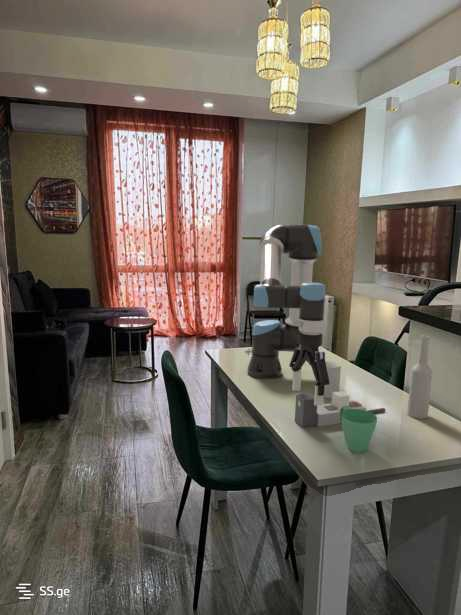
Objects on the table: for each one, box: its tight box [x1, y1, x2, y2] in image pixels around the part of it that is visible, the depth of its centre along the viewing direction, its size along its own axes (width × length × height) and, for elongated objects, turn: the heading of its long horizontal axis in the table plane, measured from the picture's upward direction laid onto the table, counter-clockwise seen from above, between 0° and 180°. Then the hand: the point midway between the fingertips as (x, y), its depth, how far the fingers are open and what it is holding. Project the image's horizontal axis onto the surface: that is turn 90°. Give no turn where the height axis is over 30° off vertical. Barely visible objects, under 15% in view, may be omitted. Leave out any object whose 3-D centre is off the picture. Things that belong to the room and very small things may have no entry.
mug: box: [341, 406, 378, 454], centre depth 124 cm, size 15×10×10 cm
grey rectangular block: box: [294, 392, 317, 428], centre depth 137 cm, size 5×8×9 cm, turn 111°
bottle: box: [406, 334, 433, 420], centre depth 144 cm, size 7×7×28 cm
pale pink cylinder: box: [323, 360, 342, 399], centre depth 163 cm, size 8×8×12 cm
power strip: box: [315, 400, 386, 427], centre depth 143 cm, size 7×29×5 cm, turn 111°
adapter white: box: [331, 390, 350, 410], centre depth 141 cm, size 4×4×4 cm
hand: (306, 397), depth 136 cm, fingers open, 13 cm apart
